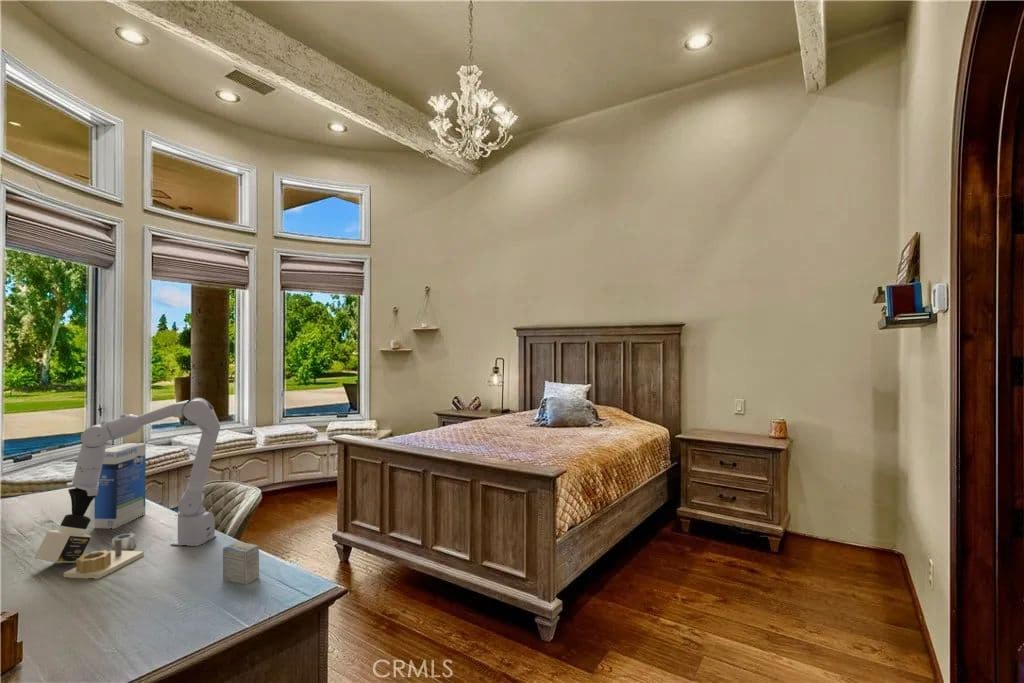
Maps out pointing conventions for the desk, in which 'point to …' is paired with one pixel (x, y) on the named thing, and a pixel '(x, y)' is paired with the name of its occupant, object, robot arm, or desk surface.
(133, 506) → the string lights box
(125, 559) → the gear board
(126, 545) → the steel gear
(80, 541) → the medicine bottle
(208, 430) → the robot arm
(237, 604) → the desk surface
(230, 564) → the beige wooden block
